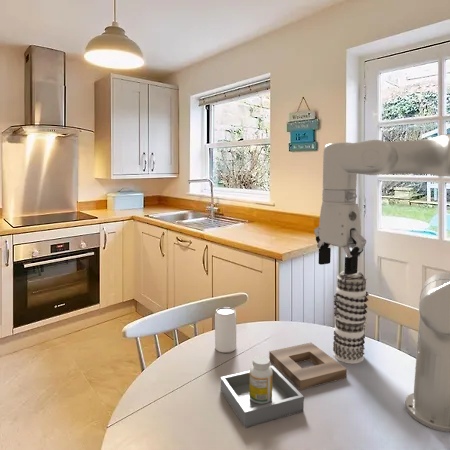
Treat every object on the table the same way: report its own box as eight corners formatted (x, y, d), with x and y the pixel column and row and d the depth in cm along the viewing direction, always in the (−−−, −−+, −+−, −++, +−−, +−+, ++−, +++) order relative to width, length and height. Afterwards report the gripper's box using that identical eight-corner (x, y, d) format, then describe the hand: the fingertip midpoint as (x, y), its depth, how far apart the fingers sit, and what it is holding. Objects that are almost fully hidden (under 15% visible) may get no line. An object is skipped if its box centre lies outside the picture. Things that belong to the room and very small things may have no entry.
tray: (303, 411, 85) (303, 396, 84) (245, 427, 79) (245, 412, 79) (272, 378, 98) (272, 365, 97) (220, 390, 93) (220, 377, 92)
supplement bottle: (260, 408, 85) (260, 368, 83) (244, 396, 89) (244, 358, 88) (277, 398, 88) (277, 360, 87) (261, 388, 92) (261, 351, 91)
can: (223, 341, 119) (222, 305, 117) (240, 347, 115) (240, 309, 113) (210, 349, 113) (210, 311, 112) (228, 355, 110) (228, 316, 108)
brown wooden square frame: (346, 377, 98) (346, 368, 97) (300, 390, 93) (300, 380, 92) (310, 350, 112) (311, 342, 112) (269, 359, 107) (269, 351, 107)
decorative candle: (370, 364, 104) (374, 277, 100) (336, 364, 104) (339, 277, 100) (359, 348, 113) (363, 267, 109) (328, 348, 113) (331, 267, 110)
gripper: (379, 198, 81) (376, 275, 84) (328, 194, 97) (327, 259, 99) (351, 200, 78) (348, 280, 81) (304, 195, 94) (303, 262, 97)
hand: (337, 268), depth 90 cm, fingers open, 9 cm apart
